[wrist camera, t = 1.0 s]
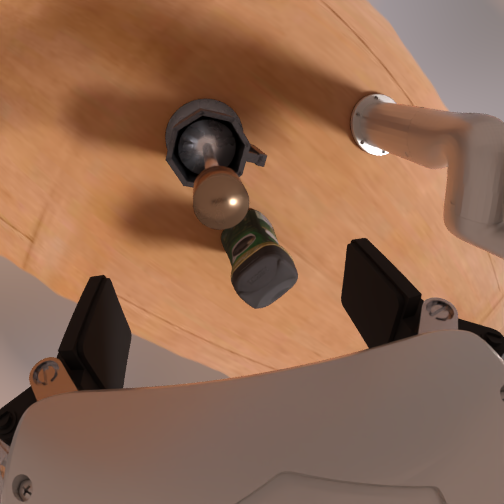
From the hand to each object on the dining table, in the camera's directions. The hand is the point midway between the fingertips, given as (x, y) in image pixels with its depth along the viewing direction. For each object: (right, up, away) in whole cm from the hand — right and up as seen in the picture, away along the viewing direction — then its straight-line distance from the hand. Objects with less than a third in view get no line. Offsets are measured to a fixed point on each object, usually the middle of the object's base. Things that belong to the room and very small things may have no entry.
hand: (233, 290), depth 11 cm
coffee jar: (0, +5, +47) cm, 47 cm away
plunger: (-5, +15, +25) cm, 29 cm away
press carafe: (-7, +21, +36) cm, 43 cm away
